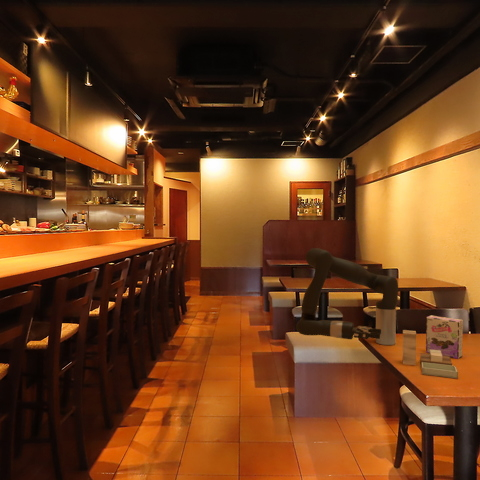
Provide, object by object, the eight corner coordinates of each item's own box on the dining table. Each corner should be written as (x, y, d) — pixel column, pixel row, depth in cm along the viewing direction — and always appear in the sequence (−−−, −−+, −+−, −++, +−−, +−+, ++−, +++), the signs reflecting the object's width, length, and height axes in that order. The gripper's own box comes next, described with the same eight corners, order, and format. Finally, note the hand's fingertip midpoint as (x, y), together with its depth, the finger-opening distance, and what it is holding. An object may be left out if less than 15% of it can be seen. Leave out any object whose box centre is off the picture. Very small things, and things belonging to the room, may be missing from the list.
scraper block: (402, 360, 170) (403, 330, 170) (415, 361, 168) (415, 331, 168) (402, 363, 165) (403, 332, 165) (415, 365, 163) (416, 333, 163)
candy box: (425, 352, 182) (425, 316, 181) (430, 350, 186) (430, 314, 185) (458, 359, 172) (458, 321, 171) (462, 356, 176) (463, 319, 176)
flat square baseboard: (420, 360, 170) (420, 353, 170) (449, 363, 166) (449, 356, 166) (421, 367, 160) (421, 360, 160) (452, 371, 156) (452, 364, 156)
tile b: (430, 358, 163) (430, 352, 163) (441, 359, 162) (441, 353, 162) (431, 361, 159) (431, 355, 159) (442, 362, 158) (442, 356, 158)
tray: (421, 368, 160) (421, 362, 160) (455, 372, 155) (455, 365, 155) (422, 374, 153) (422, 367, 153) (457, 378, 148) (457, 372, 148)
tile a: (429, 355, 167) (429, 349, 167) (440, 356, 166) (440, 350, 166) (430, 358, 164) (430, 351, 164) (441, 359, 162) (441, 353, 162)
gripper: (339, 324, 170) (379, 328, 164) (344, 318, 183) (381, 322, 177) (339, 341, 170) (379, 346, 164) (343, 334, 183) (381, 339, 177)
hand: (380, 333), depth 171 cm, fingers open, 8 cm apart
